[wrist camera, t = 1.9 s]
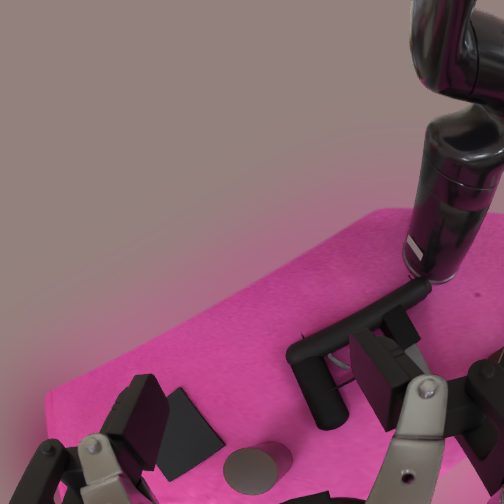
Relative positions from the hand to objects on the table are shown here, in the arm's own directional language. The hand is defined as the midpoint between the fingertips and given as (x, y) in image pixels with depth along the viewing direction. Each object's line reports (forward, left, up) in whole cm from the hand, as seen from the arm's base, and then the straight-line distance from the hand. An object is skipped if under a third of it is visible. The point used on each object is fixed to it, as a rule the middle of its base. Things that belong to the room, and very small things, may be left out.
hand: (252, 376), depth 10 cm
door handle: (-10, +3, -23) cm, 25 cm away
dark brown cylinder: (+7, +2, -22) cm, 24 cm away
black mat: (+15, -8, -22) cm, 28 cm away
